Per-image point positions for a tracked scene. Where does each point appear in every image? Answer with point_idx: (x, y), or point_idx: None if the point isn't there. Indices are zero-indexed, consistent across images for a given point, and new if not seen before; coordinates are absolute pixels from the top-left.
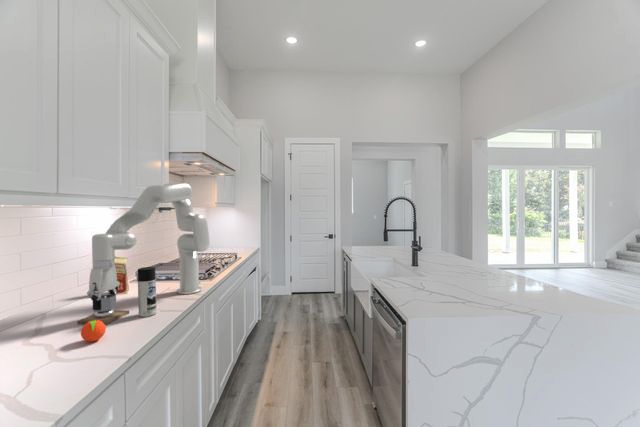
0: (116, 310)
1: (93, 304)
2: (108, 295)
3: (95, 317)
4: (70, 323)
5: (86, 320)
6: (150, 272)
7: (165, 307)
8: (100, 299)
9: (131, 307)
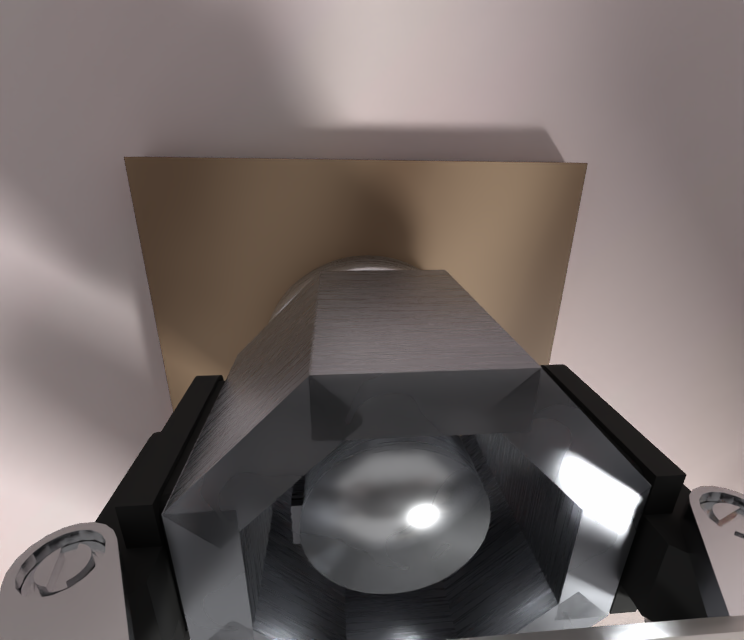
0: (543, 358)
1: (127, 480)
2: (564, 530)
3: (271, 317)
4: (141, 18)
5: (175, 269)
6: None
7: (633, 618)
8: (192, 635)
9: (710, 364)
